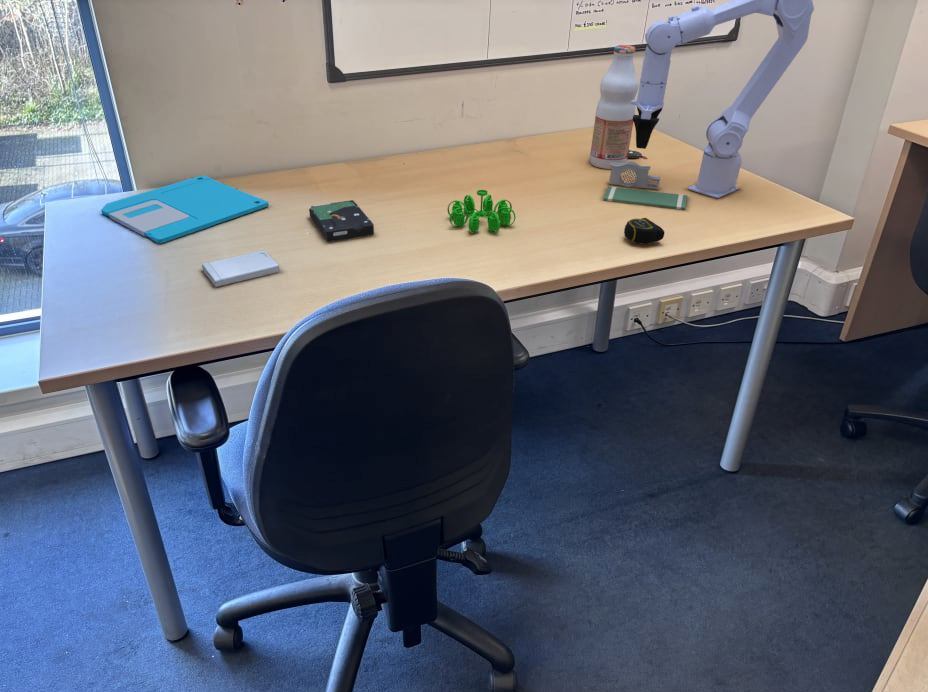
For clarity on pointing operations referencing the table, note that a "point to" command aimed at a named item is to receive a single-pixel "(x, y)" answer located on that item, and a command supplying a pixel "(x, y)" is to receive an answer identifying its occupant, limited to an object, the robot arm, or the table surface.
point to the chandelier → (481, 213)
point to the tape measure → (643, 231)
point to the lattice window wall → (639, 171)
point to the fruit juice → (615, 110)
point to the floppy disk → (181, 208)
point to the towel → (646, 198)
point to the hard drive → (240, 268)
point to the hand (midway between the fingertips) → (642, 143)
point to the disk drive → (341, 221)
